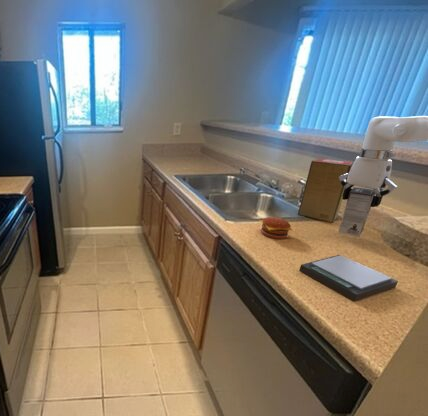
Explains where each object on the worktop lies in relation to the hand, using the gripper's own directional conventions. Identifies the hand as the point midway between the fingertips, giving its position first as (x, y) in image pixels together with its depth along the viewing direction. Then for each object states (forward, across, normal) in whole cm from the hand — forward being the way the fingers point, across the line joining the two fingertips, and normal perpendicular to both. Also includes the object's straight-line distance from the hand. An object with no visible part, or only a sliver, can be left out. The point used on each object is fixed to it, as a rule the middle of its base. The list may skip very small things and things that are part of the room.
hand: (359, 202), depth 100 cm
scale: (+14, -17, +30) cm, 37 cm away
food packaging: (+14, +19, -10) cm, 25 cm away
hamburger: (+14, +12, +24) cm, 30 cm away
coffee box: (+12, 0, 0) cm, 12 cm away
